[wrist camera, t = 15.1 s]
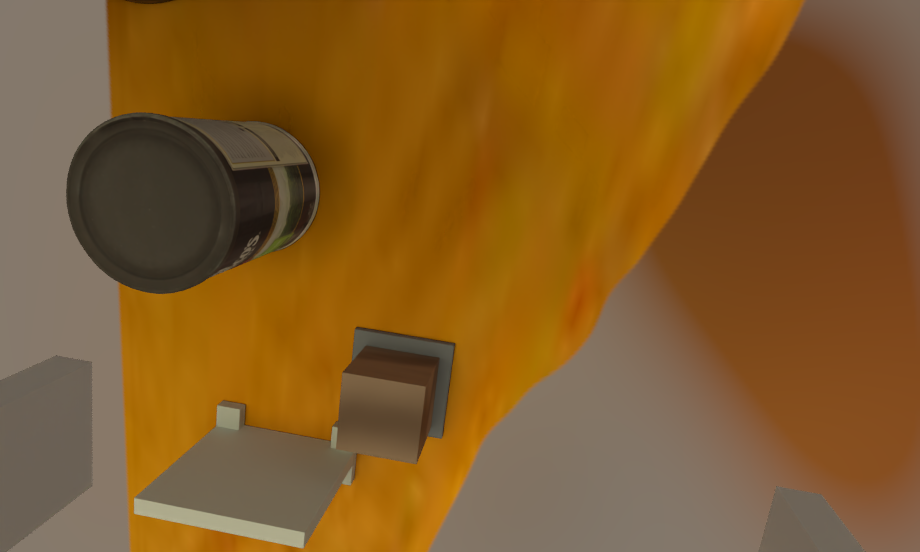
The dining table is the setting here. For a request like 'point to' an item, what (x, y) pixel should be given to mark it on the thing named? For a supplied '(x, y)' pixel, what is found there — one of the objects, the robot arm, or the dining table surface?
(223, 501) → the screen
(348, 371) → the brown cube
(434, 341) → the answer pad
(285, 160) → the coffee can
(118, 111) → the dining table surface
